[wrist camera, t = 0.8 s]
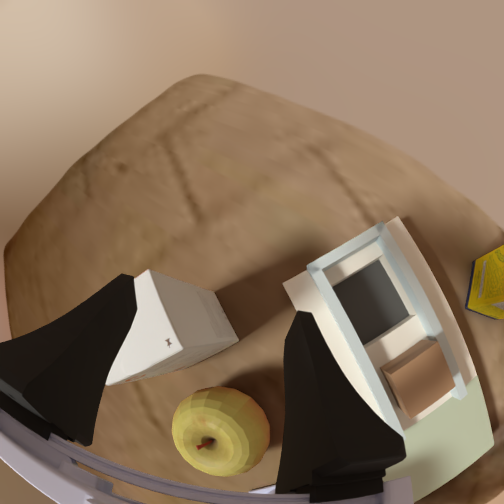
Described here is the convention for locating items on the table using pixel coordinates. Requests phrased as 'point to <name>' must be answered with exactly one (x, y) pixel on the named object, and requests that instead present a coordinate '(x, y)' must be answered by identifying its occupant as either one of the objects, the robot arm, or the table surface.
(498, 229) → the table surface
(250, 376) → the table surface
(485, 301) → the supplement box
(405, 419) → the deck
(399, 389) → the block
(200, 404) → the apple
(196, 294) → the small box
